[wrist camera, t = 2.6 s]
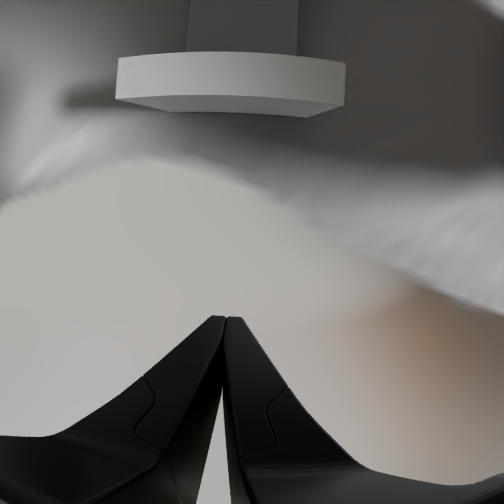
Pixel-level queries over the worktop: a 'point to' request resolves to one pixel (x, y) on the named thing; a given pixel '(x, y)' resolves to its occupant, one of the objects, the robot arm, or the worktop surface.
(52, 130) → the worktop surface
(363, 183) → the worktop surface
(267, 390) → the robot arm
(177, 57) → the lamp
